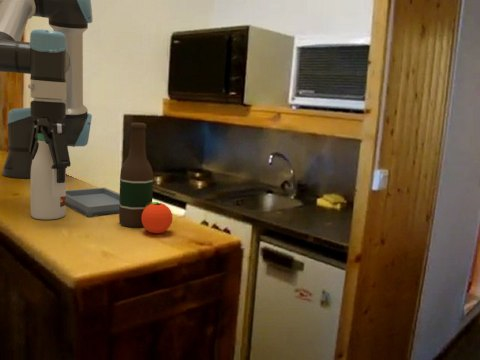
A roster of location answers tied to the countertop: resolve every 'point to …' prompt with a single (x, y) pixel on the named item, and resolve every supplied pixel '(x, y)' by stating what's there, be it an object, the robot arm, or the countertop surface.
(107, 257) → the countertop surface
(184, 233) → the countertop surface
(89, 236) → the countertop surface
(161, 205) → the tomato
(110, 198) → the slate tray
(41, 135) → the milk bottle
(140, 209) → the beer bottle
